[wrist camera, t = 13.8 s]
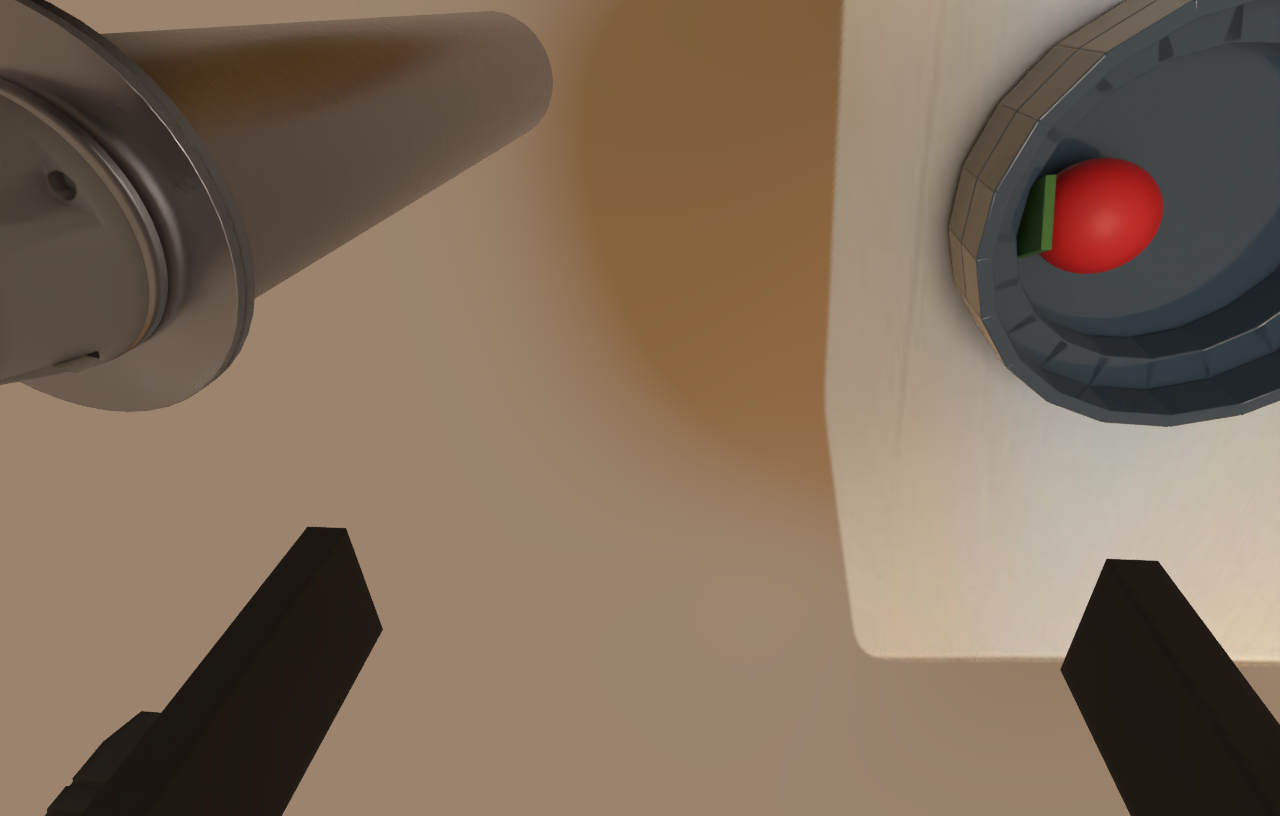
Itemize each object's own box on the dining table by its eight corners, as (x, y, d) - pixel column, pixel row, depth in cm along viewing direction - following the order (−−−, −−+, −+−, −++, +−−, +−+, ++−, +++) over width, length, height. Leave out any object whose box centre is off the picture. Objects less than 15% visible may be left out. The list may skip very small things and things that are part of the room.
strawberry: (1113, 227, 29) (1000, 230, 30) (1161, 132, 26) (1033, 138, 27) (1148, 296, 27) (1023, 297, 27) (1207, 199, 23) (1063, 204, 24)
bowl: (879, 302, 33) (898, 348, 28) (1106, -98, 24) (1182, -118, 20) (1184, 414, 33) (1247, 475, 29) (1509, 66, 25) (1666, 80, 21)
